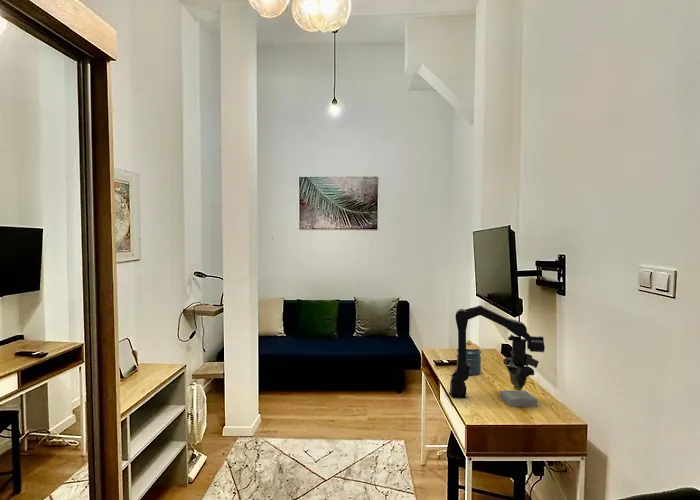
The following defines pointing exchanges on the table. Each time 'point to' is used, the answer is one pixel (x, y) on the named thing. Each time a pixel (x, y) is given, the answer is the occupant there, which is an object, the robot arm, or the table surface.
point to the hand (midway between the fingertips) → (517, 385)
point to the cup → (515, 380)
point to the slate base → (518, 398)
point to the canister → (473, 357)
